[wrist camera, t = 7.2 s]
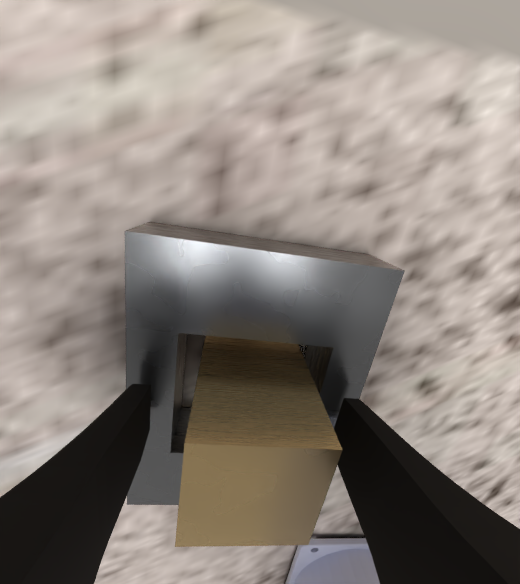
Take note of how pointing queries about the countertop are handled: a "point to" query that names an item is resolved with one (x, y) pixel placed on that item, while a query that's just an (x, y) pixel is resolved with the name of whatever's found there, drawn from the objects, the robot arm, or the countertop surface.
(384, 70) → the countertop surface
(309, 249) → the grey metal rectangular frame
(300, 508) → the tan rectangular block
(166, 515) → the countertop surface
